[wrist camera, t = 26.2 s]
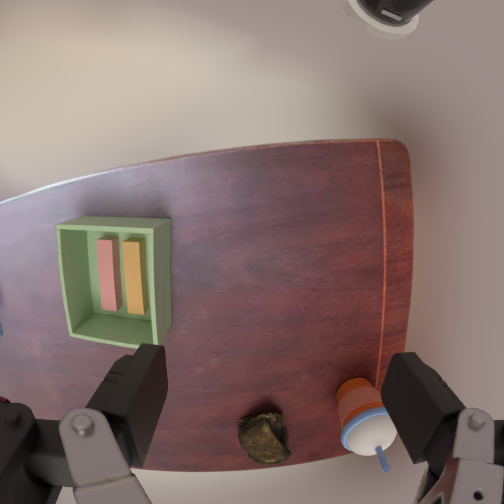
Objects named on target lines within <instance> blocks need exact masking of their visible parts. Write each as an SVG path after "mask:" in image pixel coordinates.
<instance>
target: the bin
mask: <svg viewBox="0 0 504 504" xmlns="http://www.w3.org/2000/svg"><path fill="white" fill-rule="evenodd" d="M56 233H57V248H58V260H59V270H60V279H61V287H62V294H63V301H64V307H65V313H66V319H67V324H68V329H69V334H70V336H71V337H76V338H81V339H86V340H91V341H96V342H101V343H106V344H112V345H118V346H123V347H130V348H136V349H138V347H139V346H140V344H141V343H148V344H155V345H162V343H163V341H164V339H165V337H166V336H167V334H168V332H169V330H170V328H171V326H172V307H171V219H161V218H138V217H110V216H83V217H79V218H76V219H72V220H69V221H65V222H62V223H59V224H56ZM103 236H114V237H119V252H120V272H121V287H122V299H123V305H122V306H121V307H120V309H119V310H118V311H110V310H103V309H102V304H101V295H100V285H99V274H98V260H97V242H96V239H99V238H101V237H103ZM128 238H145V248H146V270H147V286H148V299H149V309H148V310H147V312H146V313H145V314H144V315H140V314H130V313H128V306H127V297H126V286H125V275H124V261H123V244H122V242H123V241H124V240H126V239H128Z"/></svg>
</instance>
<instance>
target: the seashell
mask: <svg viewBox="0 0 504 504" xmlns="http://www.w3.org/2000/svg"><path fill="white" fill-rule="evenodd" d="M239 421H240V422H239V425H240V426H242V427H241V428H240V430H239V434H238V438H239V442H240V444H241V446H242V448H243V449H245V450H246V452H247V453H248V455H249V457H250V458H251V459H252V460H253V461H255V462H256V463H259V464H262V465H269V466H274V465H279V464H281V463H283V462H285V461H286V460H287V459H288V458H289V457H290V456H291V452H290V451H289V450H288V445H287V443H288V439H287V431H286V428H285V424H284V420H283V416H282V415H278V414H276V413H263V414H260V415H255V416H249V417H246V418H243V419H240V420H239Z"/></svg>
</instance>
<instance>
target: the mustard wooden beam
mask: <svg viewBox="0 0 504 504" xmlns="http://www.w3.org/2000/svg"><path fill="white" fill-rule="evenodd" d="M122 244H123V261H124V275H125V286H126V297H127V306H128V313H130V314H140V315H144V314H145V313H146V312H147V310H148V309H149V299H148V286H147V270H146V248H145V238H128V239H126V240H124V241H123V242H122Z"/></svg>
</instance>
